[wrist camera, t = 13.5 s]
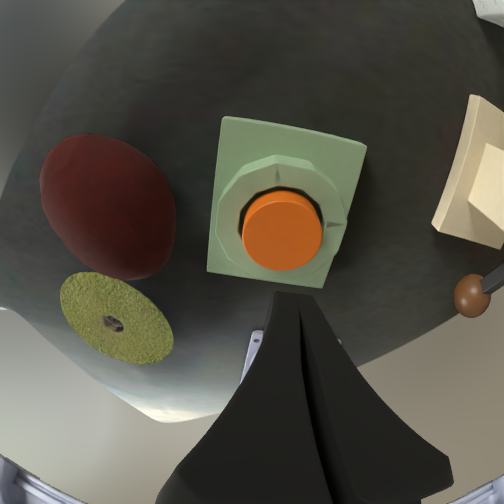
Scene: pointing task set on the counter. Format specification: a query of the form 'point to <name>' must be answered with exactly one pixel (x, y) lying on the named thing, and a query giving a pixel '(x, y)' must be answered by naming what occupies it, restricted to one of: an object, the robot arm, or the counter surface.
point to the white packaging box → (490, 10)
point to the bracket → (476, 179)
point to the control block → (280, 178)
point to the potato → (109, 205)
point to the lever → (477, 292)
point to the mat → (116, 318)
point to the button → (281, 230)
